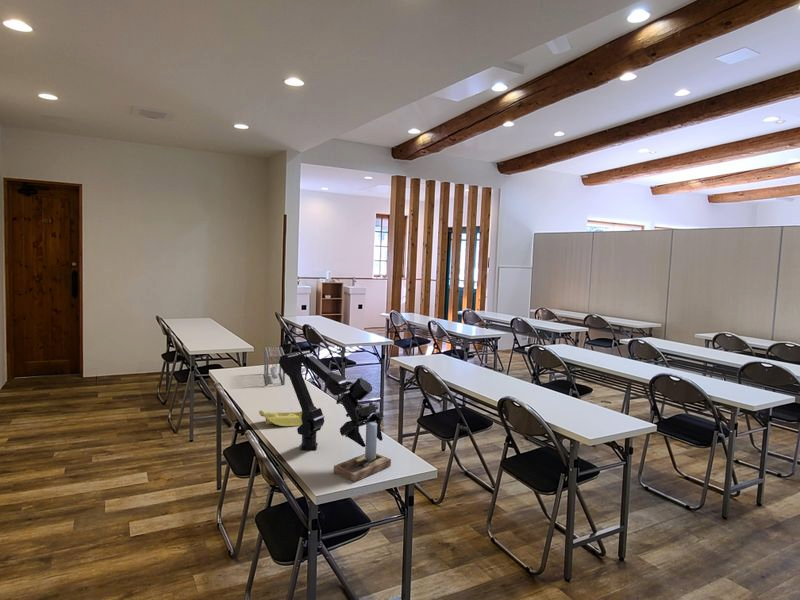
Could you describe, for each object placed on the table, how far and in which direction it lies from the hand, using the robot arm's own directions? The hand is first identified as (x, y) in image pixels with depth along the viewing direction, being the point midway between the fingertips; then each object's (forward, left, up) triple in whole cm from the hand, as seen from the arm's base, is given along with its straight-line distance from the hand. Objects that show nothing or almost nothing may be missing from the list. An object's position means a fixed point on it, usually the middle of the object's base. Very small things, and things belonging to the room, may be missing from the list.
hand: (373, 443), depth 186 cm
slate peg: (-1, -1, -9) cm, 9 cm away
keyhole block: (+2, -4, -9) cm, 10 cm away
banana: (-49, -39, -9) cm, 63 cm away
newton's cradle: (-129, -55, -9) cm, 140 cm away
